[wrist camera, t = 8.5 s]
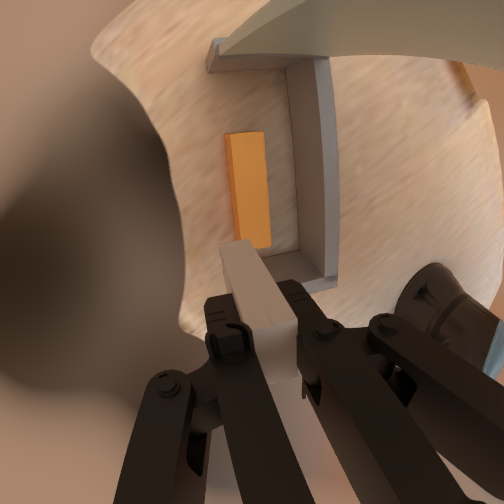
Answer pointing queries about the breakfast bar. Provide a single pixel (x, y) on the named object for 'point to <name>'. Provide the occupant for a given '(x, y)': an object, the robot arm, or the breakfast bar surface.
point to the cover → (372, 30)
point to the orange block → (249, 187)
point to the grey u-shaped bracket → (305, 167)
